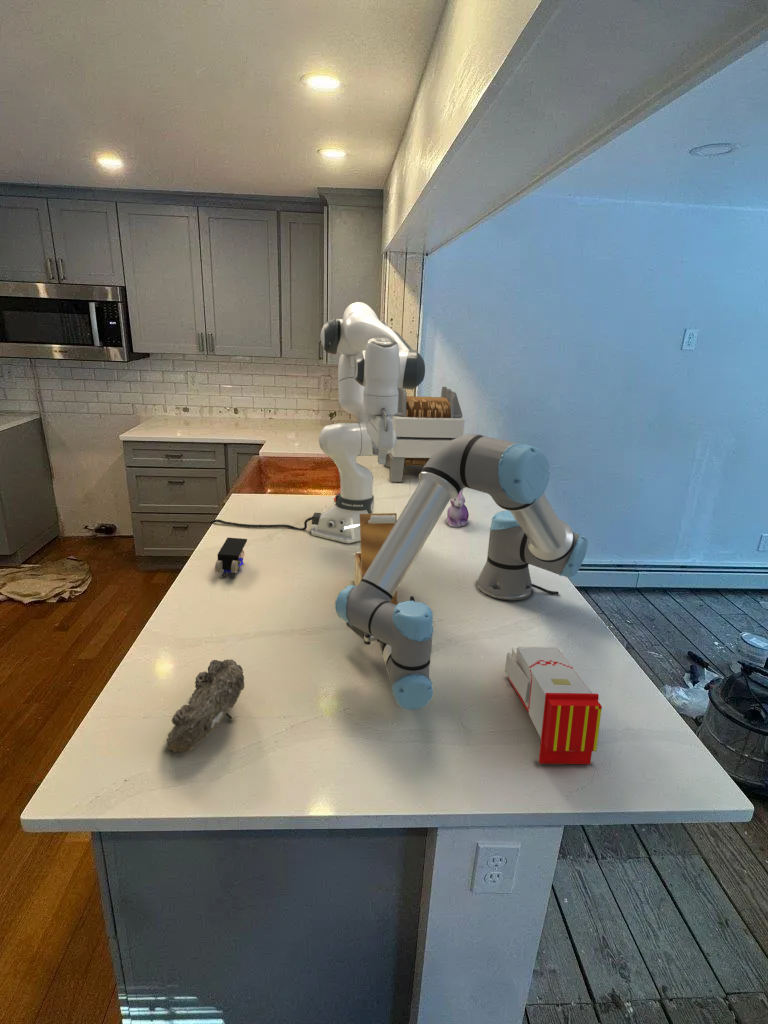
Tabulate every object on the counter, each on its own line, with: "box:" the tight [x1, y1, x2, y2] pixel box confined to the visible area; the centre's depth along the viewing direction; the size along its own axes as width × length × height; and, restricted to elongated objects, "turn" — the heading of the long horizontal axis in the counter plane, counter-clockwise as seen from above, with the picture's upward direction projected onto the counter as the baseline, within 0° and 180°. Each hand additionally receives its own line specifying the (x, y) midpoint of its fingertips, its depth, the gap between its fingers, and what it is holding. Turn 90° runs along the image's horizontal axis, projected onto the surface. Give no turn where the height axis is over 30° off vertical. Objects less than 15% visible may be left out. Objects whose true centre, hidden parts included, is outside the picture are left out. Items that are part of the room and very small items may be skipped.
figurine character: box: [214, 537, 248, 578], centre depth 166 cm, size 7×8×15 cm
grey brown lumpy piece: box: [166, 658, 245, 754], centre depth 106 cm, size 22×10×15 cm
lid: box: [359, 512, 398, 574], centre depth 144 cm, size 16×10×9 cm
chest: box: [353, 552, 398, 605], centre depth 156 cm, size 15×10×9 cm, turn 10°
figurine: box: [446, 488, 470, 528], centre depth 210 cm, size 9×10×15 cm
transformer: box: [383, 386, 465, 483], centre depth 268 cm, size 34×33×41 cm
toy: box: [504, 646, 603, 765], centre depth 112 cm, size 12×13×30 cm
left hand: (378, 459), depth 147 cm, fingers open, 8 cm apart
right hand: (384, 601), depth 140 cm, fingers open, 13 cm apart
